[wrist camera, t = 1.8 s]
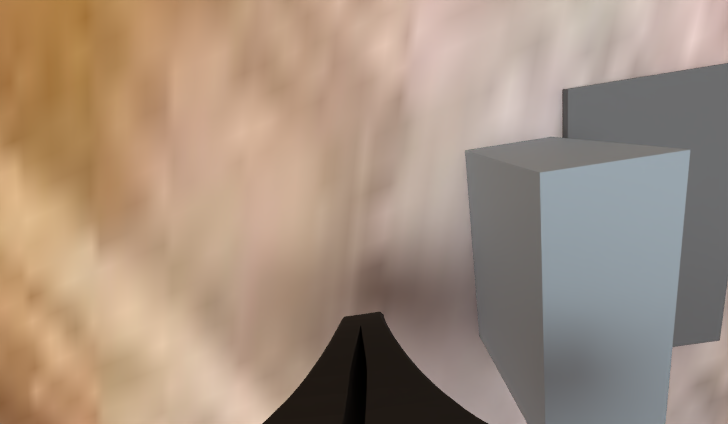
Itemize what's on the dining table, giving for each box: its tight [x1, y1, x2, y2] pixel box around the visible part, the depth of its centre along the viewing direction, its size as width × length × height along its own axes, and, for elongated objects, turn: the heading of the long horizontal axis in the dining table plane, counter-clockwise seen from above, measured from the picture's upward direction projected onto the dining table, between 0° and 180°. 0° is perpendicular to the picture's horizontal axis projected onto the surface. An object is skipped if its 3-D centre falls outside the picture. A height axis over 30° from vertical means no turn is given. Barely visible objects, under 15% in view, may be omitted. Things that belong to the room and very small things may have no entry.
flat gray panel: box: [563, 63, 728, 347], centre depth 17 cm, size 8×14×1 cm, turn 9°
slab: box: [465, 137, 690, 424], centre depth 14 cm, size 4×10×7 cm, turn 9°
